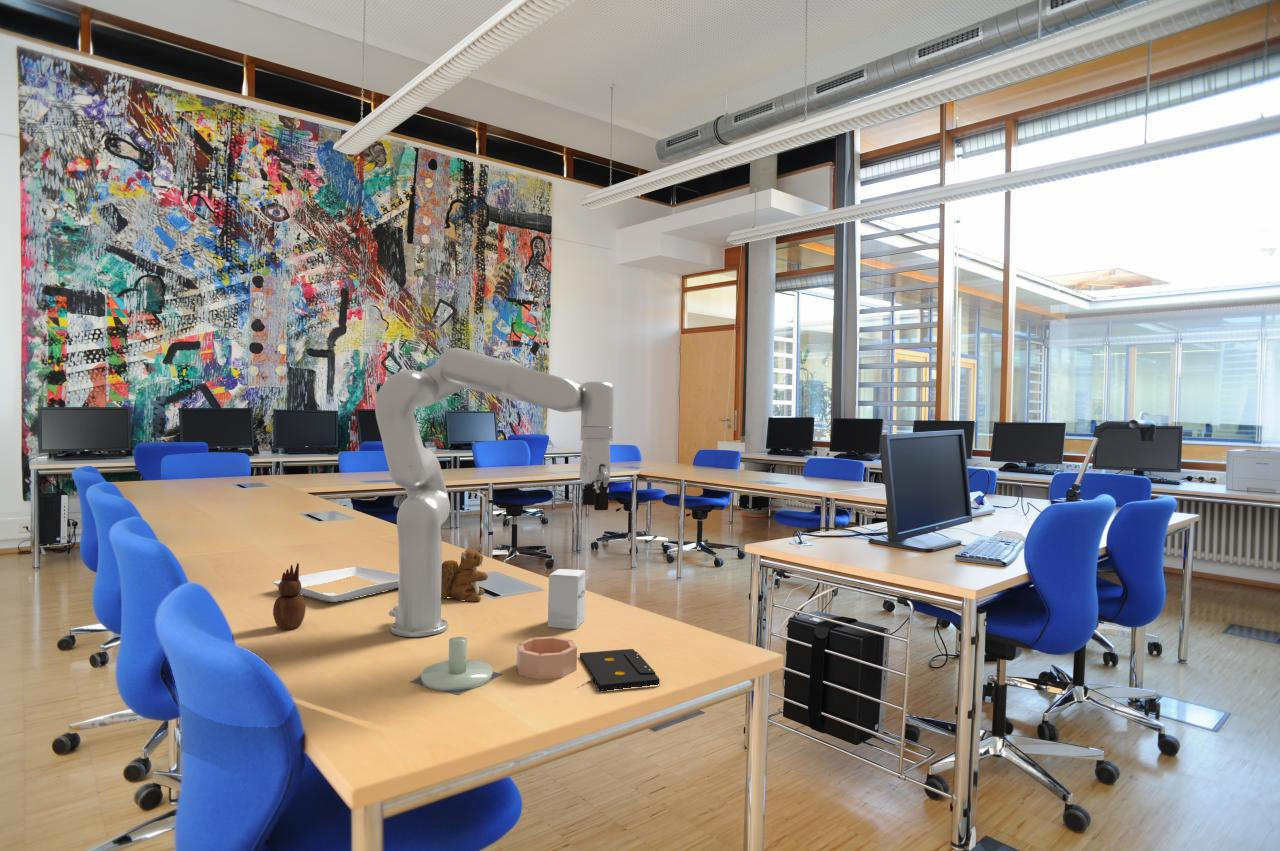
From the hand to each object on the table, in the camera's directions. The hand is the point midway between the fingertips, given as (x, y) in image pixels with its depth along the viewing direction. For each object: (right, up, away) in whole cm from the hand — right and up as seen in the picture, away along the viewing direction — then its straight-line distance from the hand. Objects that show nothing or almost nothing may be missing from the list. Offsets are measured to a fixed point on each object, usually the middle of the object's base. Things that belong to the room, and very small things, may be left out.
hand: (594, 507), depth 166 cm
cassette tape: (+6, -30, -27) cm, 41 cm away
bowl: (-8, -29, -27) cm, 40 cm away
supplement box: (-7, -29, +4) cm, 30 cm away
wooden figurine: (-71, -28, -2) cm, 76 cm away
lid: (-24, -28, -33) cm, 50 cm away
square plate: (-72, -28, +33) cm, 84 cm away
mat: (-24, -29, -33) cm, 50 cm away
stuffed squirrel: (-39, -28, +28) cm, 55 cm away
